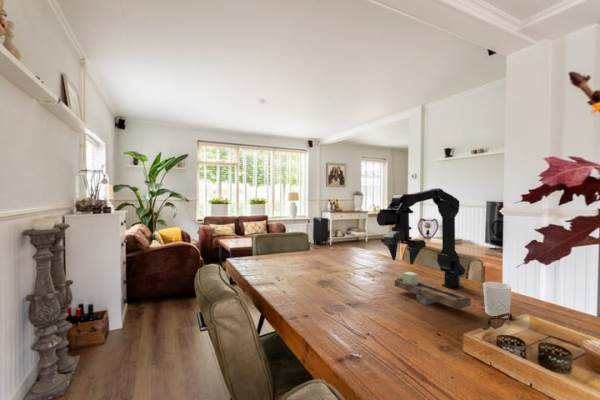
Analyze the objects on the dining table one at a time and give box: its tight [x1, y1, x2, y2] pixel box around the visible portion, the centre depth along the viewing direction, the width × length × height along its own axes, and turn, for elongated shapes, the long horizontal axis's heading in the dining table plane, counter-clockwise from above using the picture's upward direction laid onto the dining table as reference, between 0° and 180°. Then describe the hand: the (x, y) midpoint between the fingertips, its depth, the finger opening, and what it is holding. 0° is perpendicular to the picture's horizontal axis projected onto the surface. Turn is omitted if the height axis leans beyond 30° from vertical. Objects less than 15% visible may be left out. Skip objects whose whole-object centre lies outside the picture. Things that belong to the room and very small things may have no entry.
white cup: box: [482, 281, 512, 319], centre depth 95 cm, size 8×8×10 cm
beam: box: [394, 277, 472, 310], centre depth 108 cm, size 28×9×6 cm, turn 27°
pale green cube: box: [401, 271, 419, 286], centre depth 116 cm, size 4×4×4 cm
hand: (402, 262), depth 116 cm, fingers open, 9 cm apart
